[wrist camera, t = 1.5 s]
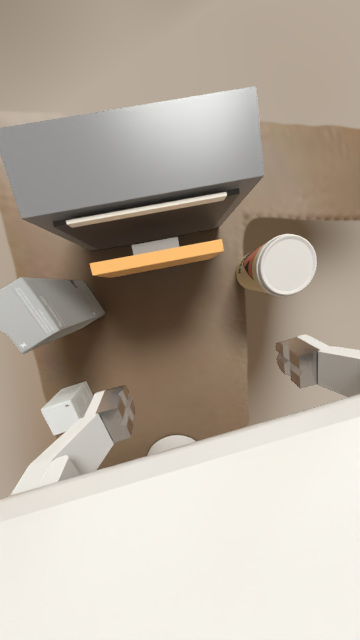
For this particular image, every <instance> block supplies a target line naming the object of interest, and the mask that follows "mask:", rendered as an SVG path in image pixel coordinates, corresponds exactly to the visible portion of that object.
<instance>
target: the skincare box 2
mask: <svg viewBox="0 0 360 640" xmlns="http://www.w3.org/2000/svg"><path fill="white" fill-rule="evenodd" d="M93 397H94V396H93V394H92V392H91V390H90V388H89V386H88V383H87V381H85V382H82V383H79V384H76V385H73V386H69V387H66V388H63V389H61V390H60V391H59V392H58V393H57V394H56V395H55V396H54V397H53V398H52V399H51V400H50V401H49V402H48V403H47V404H46V405H45V406H44V407H43V408H42V409H41V412H42V414H43V416H44V418H45V420H46V422H47V423H48V425H49V427H50V429H51V431H52V433H53V435H57V434H60V433H63V432H66V431H67V430H68V429H69V428H70V427H71V426H73V425H74V424H75V423H76V422H77V421H78V420H79V419H80V418H83V417H84V416H85V414H86V411H87V409H88V407H89V405H90V403H91V401H92V399H93Z"/></svg>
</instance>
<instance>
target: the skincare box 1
mask: <svg viewBox="0 0 360 640" xmlns="http://www.w3.org/2000/svg"><path fill="white" fill-rule="evenodd" d="M104 314H105V311H104V310H103V309H102V307H101V305H100V304H99V302H98V301H97V299H96V298H95V296H94V295H93V293H92V292H91V291H90V289H89V288H88V286H87V285H86V284H85V282H84V281H75V280H59V279H42V278H22V277H20V278H19V279H17V280H15V281H14V282H12V283H11V284H9V285H7V286H6V287H4V288H3V289H1V290H0V330H1V331H2V332H3V333H5V334H7V335H8V336H9V338H10V339H11V340H12V342H13V343H14V344H15V345H16V346H17V348H18V349H19V350H20V352H21V353H22V354H25V353H27V352H29V351H31V350H33V349H35V348H37V347H40V346H42V345H44V344H47V343H49V342H51V341H54V340H56V339H58V338H61V337H63V336H65V335H68V334H70V333H72V332H75V331H77V330H79V329H82V328H83V327H85V326H87V325H88V324H90V323H91V322H93V321H95V320H96V319H98V318H100V317H101V316H103V315H104Z"/></svg>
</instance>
